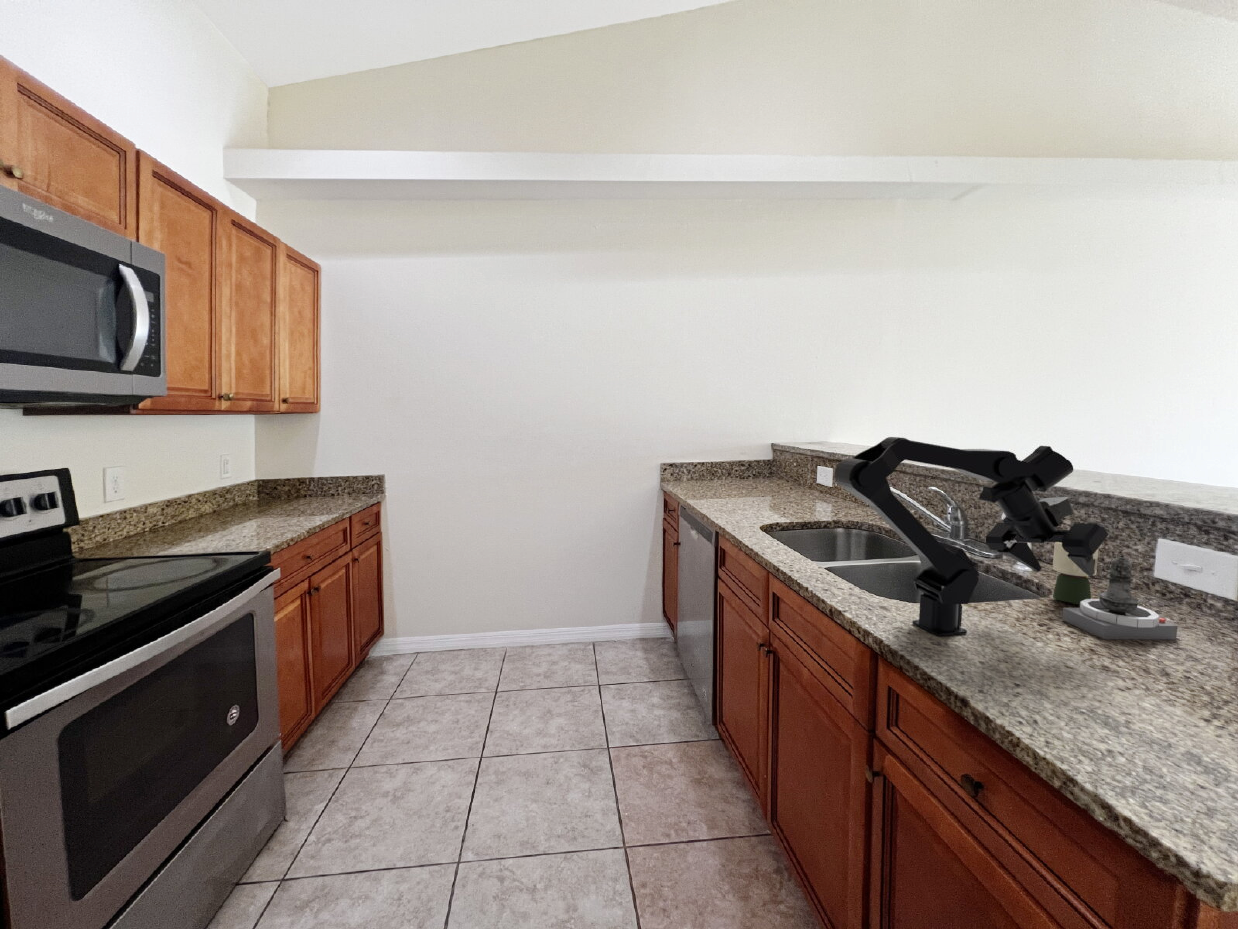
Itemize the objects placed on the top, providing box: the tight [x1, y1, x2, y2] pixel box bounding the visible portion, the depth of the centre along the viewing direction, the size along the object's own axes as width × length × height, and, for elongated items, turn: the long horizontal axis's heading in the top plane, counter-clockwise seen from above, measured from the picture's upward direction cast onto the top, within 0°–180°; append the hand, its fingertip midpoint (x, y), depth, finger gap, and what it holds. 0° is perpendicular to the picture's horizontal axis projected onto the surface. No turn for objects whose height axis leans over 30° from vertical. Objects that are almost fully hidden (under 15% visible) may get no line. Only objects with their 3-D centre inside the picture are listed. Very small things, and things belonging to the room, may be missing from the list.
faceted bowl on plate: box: [1061, 598, 1178, 640], centre depth 100 cm, size 13×10×4 cm
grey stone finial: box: [1097, 553, 1141, 617], centre depth 100 cm, size 6×6×12 cm
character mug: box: [1052, 542, 1099, 606], centre depth 114 cm, size 11×7×13 cm, turn 145°
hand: (1064, 572), depth 100 cm, fingers open, 9 cm apart
